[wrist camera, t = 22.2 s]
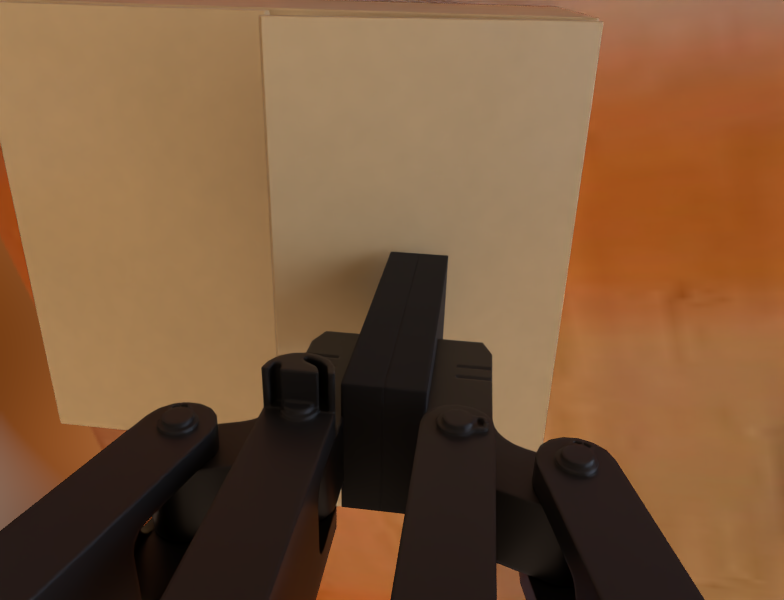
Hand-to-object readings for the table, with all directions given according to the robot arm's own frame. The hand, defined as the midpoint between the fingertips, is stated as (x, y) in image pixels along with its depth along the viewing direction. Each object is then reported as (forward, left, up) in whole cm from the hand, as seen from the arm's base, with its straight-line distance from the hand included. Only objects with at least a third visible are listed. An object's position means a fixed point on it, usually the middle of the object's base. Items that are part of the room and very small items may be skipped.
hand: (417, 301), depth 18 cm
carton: (+4, -2, -16) cm, 16 cm away
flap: (0, 0, -1) cm, 1 cm away
